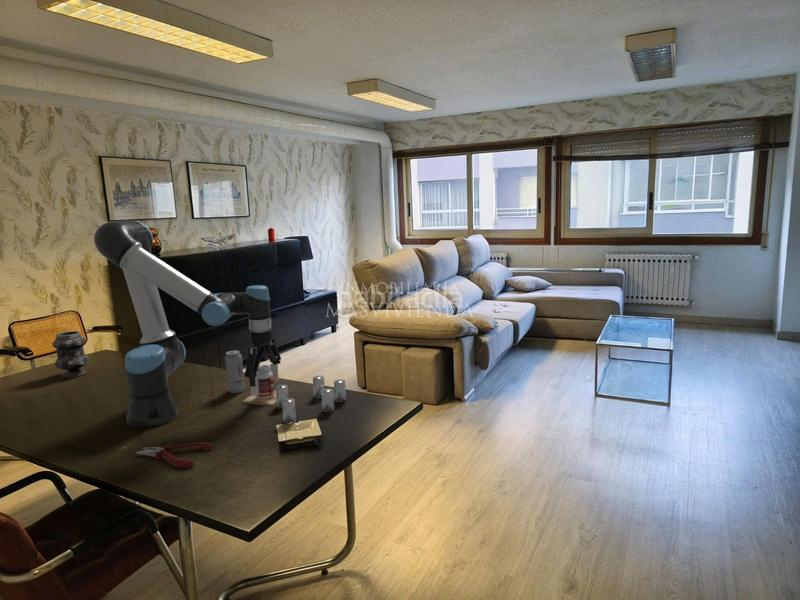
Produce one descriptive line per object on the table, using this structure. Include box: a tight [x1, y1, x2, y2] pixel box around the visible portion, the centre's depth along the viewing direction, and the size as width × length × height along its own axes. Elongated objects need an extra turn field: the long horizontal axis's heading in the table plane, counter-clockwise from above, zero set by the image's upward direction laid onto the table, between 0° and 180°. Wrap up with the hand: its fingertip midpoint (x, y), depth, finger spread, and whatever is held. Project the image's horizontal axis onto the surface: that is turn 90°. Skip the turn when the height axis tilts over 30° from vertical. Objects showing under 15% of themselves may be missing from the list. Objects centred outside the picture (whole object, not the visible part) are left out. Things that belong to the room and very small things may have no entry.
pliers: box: [135, 441, 213, 469], centre depth 145 cm, size 12×20×3 cm, turn 78°
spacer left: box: [275, 384, 289, 409], centre depth 177 cm, size 4×4×7 cm
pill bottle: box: [256, 364, 275, 399], centre depth 184 cm, size 6×6×11 cm
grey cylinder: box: [333, 379, 347, 402], centre depth 181 cm, size 4×4×7 cm
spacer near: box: [281, 397, 297, 424], centre depth 165 cm, size 4×4×7 cm
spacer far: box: [312, 375, 326, 398], centre depth 185 cm, size 4×4×7 cm
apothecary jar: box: [51, 330, 90, 379], centre depth 216 cm, size 12×12×18 cm
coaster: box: [241, 390, 290, 407], centre depth 185 cm, size 12×12×1 cm
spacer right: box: [321, 387, 335, 411], centre depth 172 cm, size 4×4×7 cm
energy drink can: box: [224, 350, 245, 394], centre depth 192 cm, size 6×6×15 cm
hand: (265, 387), depth 185 cm, fingers open, 13 cm apart
